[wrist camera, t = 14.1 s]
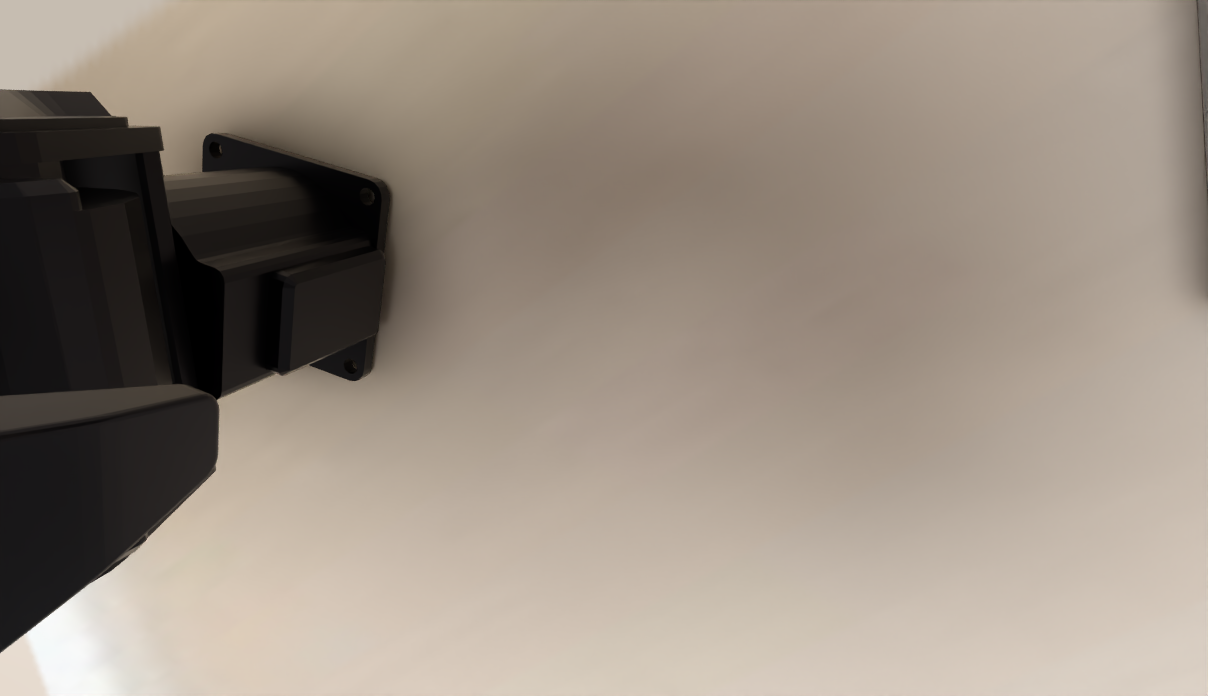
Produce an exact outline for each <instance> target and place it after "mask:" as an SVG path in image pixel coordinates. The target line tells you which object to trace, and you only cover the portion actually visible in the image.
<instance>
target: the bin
mask: <svg viewBox="0 0 1208 696" xmlns="http://www.w3.org/2000/svg"><path fill="white" fill-rule="evenodd" d="M1197 2H1198V20H1199V39H1200V58H1201V76H1202V95H1203V113H1204V132H1205V150H1206V169H1207V187H1208V0H1197Z"/></svg>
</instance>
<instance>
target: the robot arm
mask: <svg viewBox="0 0 1208 696" xmlns="http://www.w3.org/2000/svg"><path fill="white" fill-rule="evenodd" d="M219 146H221V147H222V154H221V153H220V149H219ZM163 150H164V148H163V142H162V135H161V129H160V127H159V126H129V125H128V119H127V117H116V116H111V115H110V114H109V113H108V112H107V110H106V109H105V108H104V107H103V106H102V105H101V104H100V102H99V101H98V100H97V99H96V98H95V97H94V96H93V95H92V93H91V92H63V91H27V90H2V89H1V90H0V653H1V652H2V651H4V650H5V649H6V648H7V647H9V646H10V645H11V644H13V643H14V642H15V641H17V640H18V639H19V638H20V637H22V636H23V635H24V634H26V633H27V632H28V631H29V630H31V629H32V628H33V627H35V626H36V625H37V624H38V623H40V622H41V621H42V620H44V619H45V618H46V617H47V616H49V615H50V614H51V613H53V612H54V611H55V610H56V609H58V608H59V607H60V606H62V605H63V604H64V603H65V602H67V601H68V600H69V599H71V598H72V597H73V596H74V595H76V594H77V593H78V592H80V591H81V590H82V589H83V588H85V587H86V586H87V585H88V584H90V583H92V582H93V581H95V580H97V579H98V578H100V577H102V576H103V575H105V574H107V573H108V572H110V571H112V570H113V569H114V568H115V567H116V566H118V565H119V564H120V563H121V562H123V561H124V560H125V559H126V558H127V557H128V556H129V555H130V554H131V553H133V552H135V551H136V550H137V549H138V548H139V547H140V546H141V545H142V544H143V543H144V542H145V541H146V540H147V538H148V537H149V536H150V535H151V534H152V533H153V532H154V531H155V530H156V529H157V528H158V527H159V526H160V525H161V524H162V523H163V522H164V521H165V520H166V519H167V518H168V517H169V516H170V515H171V514H172V513H173V512H174V511H175V510H176V509H177V508H178V507H179V506H180V505H181V504H182V503H183V502H184V501H185V500H186V499H187V498H188V497H189V496H191V495H192V494H193V493H194V492H195V491H196V490H197V489H198V488H199V487H200V486H201V485H202V484H203V483H204V482H205V481H206V480H207V479H208V478H209V477H210V476H211V475H212V474H213V473H214V472H215V471H216V466H215V465H216V462H217V458H218V437H219V405H218V403H217V400H218V399H220V398H222V397H225V396H227V395H229V394H231V393H234V392H236V391H238V390H241V389H243V388H245V387H247V386H250V385H252V384H254V383H256V382H259V381H261V380H263V379H266V378H268V377H270V376H272V375H275V374H279V375H281V376H283V375H287V374H289V373H292V372H294V371H296V370H298V369H301V368H303V367H305V366H307V365H310V366H312V367H315V368H318V369H320V370H323V371H326V372H328V373H331V374H334V375H336V376H339V377H342V378H344V379H347V380H350V381H357V380H359V379H361V378H363V377H365V376H367V375H368V374H369V373H370V371H371V367H372V358H373V349H374V340H375V334H376V333H377V332H378V326H379V317H380V308H381V299H382V289H383V280H384V271H385V262H386V259H385V256H384V248H385V239H386V230H387V221H388V211H389V202H390V195H389V191H388V188H387V186H386V185H385V184H384V183H383V181H381V180H379V179H377V178H374V177H371V176H367V175H364V174H361V173H357V172H354V171H351V170H347V169H344V168H340V167H337V166H334V165H330V164H327V163H324V162H320V161H317V160H314V159H310V158H307V157H304V156H300V155H297V154H294V153H290V152H287V151H284V150H280V149H277V148H274V147H270V146H267V145H264V144H260V143H257V142H253V141H250V140H247V139H243V138H240V137H237V136H233V135H230V134H227V133H211V134H209V135H207V136H206V138H205V139H204V142H203V164H202V172H199V173H188V174H177V175H166V176H163V171H162V165H161V159H160V153H159V151H163ZM369 189H371V190H372V191H373V193H374V197H375V199H374V202H371V201H370V199H369V198H368V191H369ZM352 360H354V361H355V363H356V364H357V369H356V368H354V366H353V365H352Z"/></svg>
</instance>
